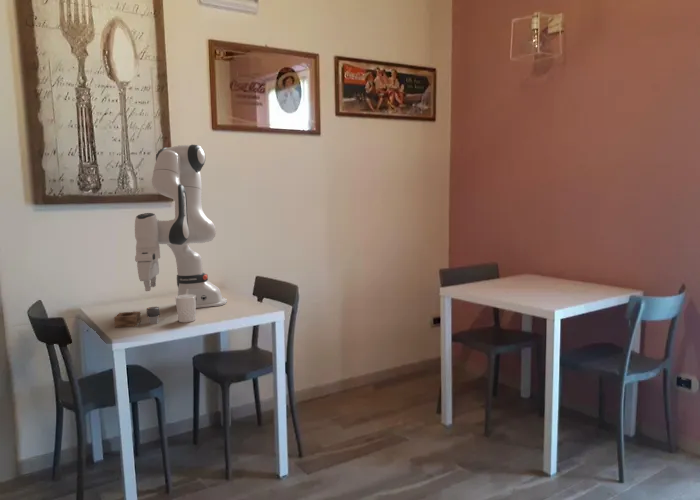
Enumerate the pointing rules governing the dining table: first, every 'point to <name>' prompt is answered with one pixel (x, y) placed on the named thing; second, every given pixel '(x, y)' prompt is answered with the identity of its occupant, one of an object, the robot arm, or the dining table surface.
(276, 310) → the dining table surface
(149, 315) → the knob
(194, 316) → the white cup
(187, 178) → the robot arm
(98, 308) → the dining table surface
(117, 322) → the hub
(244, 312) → the dining table surface
